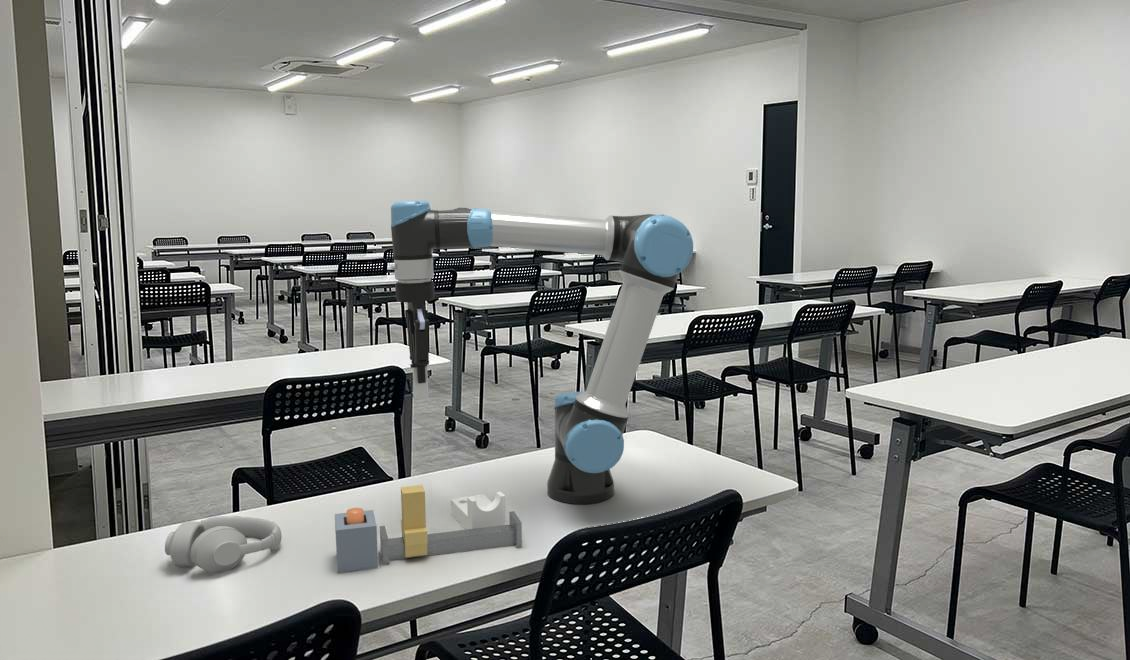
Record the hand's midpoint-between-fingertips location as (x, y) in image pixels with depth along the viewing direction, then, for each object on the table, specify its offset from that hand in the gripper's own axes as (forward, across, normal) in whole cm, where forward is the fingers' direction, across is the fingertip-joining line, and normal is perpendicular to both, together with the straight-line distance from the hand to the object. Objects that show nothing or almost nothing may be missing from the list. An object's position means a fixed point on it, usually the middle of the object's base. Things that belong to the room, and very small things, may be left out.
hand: (421, 397), depth 167 cm
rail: (+27, +14, +2) cm, 30 cm away
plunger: (+21, +14, -16) cm, 30 cm away
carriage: (+26, +14, -5) cm, 30 cm away
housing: (+26, +14, -16) cm, 33 cm away
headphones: (+26, +2, -39) cm, 47 cm away
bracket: (+27, +3, +10) cm, 29 cm away
